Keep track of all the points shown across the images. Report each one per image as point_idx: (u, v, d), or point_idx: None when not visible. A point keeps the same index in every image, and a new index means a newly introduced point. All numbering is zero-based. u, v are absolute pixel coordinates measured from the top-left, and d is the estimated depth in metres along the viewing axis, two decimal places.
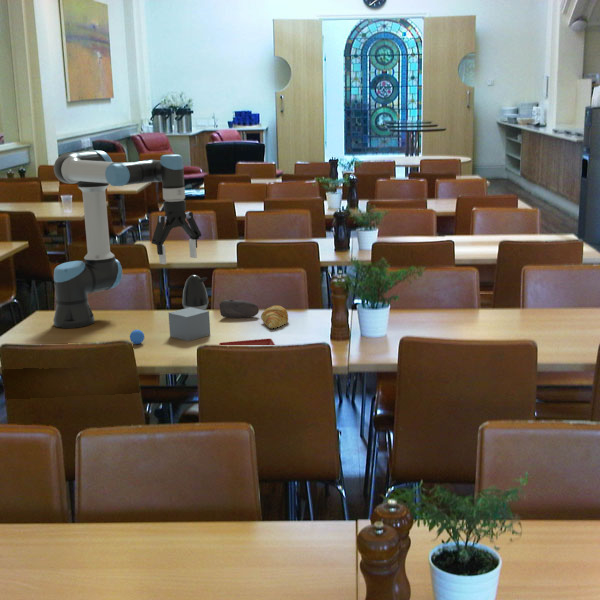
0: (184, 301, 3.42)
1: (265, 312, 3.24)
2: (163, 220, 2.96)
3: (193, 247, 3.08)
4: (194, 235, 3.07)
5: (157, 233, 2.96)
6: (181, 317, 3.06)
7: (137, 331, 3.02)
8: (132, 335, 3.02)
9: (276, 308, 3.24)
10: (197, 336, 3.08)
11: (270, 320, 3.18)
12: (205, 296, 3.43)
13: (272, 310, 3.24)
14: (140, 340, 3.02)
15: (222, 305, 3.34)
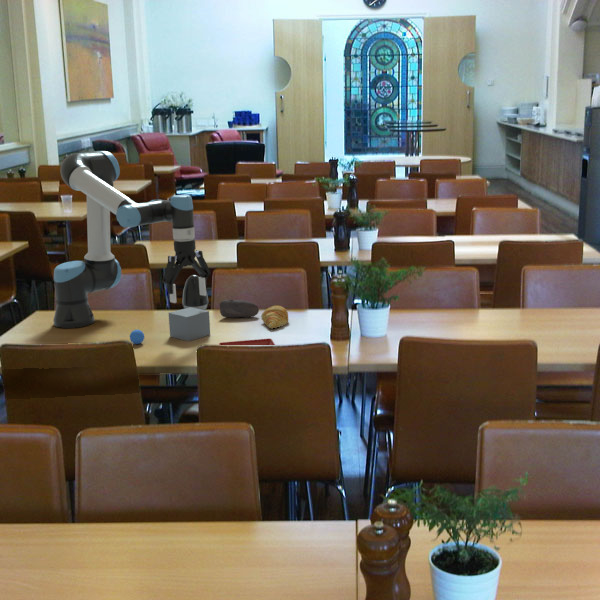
0: (184, 301, 3.42)
1: (265, 312, 3.24)
2: (173, 260, 3.00)
3: (203, 285, 3.12)
4: (204, 273, 3.11)
5: (167, 272, 3.00)
6: (181, 317, 3.06)
7: (137, 331, 3.02)
8: (132, 335, 3.02)
9: (276, 308, 3.24)
10: (197, 336, 3.08)
11: (270, 320, 3.18)
12: (205, 296, 3.43)
13: (272, 310, 3.24)
14: (140, 340, 3.02)
15: (222, 305, 3.34)
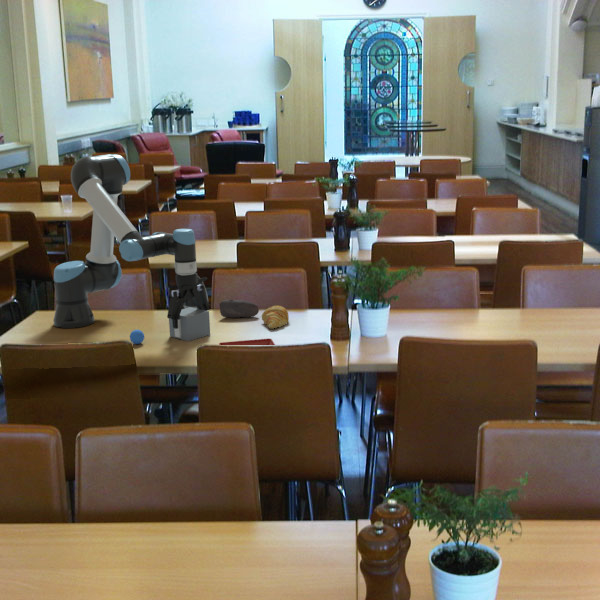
0: None
1: (265, 312, 3.24)
2: (176, 295, 3.03)
3: None
4: (203, 308, 3.14)
5: (171, 308, 3.04)
6: (181, 317, 3.06)
7: (137, 331, 3.02)
8: (132, 335, 3.02)
9: (276, 308, 3.24)
10: (197, 336, 3.08)
11: (270, 320, 3.18)
12: None
13: (272, 310, 3.24)
14: (140, 340, 3.02)
15: (222, 305, 3.34)
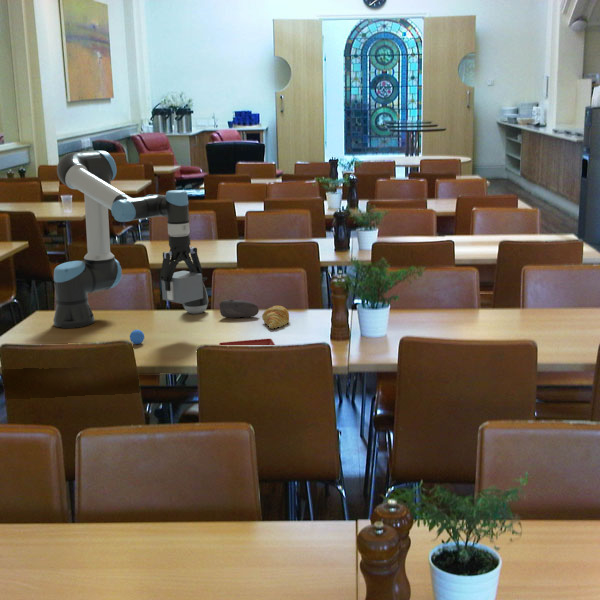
0: None
1: (266, 312, 3.24)
2: (168, 256, 3.01)
3: None
4: (196, 271, 3.11)
5: (164, 270, 3.01)
6: (174, 279, 3.03)
7: (137, 331, 3.02)
8: (132, 335, 3.02)
9: (277, 308, 3.24)
10: (190, 299, 3.05)
11: (270, 320, 3.18)
12: (205, 296, 3.43)
13: (273, 310, 3.24)
14: (140, 340, 3.02)
15: (222, 305, 3.34)
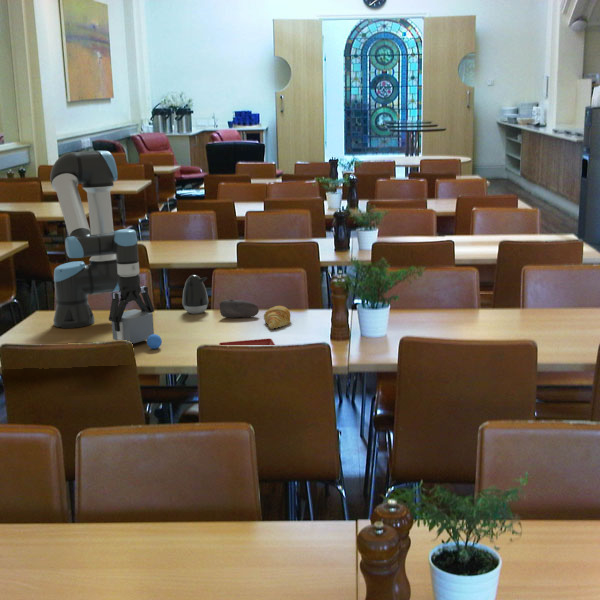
0: (184, 301, 3.42)
1: (267, 312, 3.24)
2: (117, 297, 2.97)
3: None
4: (147, 311, 3.07)
5: (113, 310, 2.97)
6: (123, 319, 2.99)
7: None
8: None
9: (278, 308, 3.24)
10: (140, 339, 3.01)
11: (271, 320, 3.18)
12: (205, 296, 3.43)
13: (274, 310, 3.24)
14: (150, 335, 2.97)
15: (222, 305, 3.34)
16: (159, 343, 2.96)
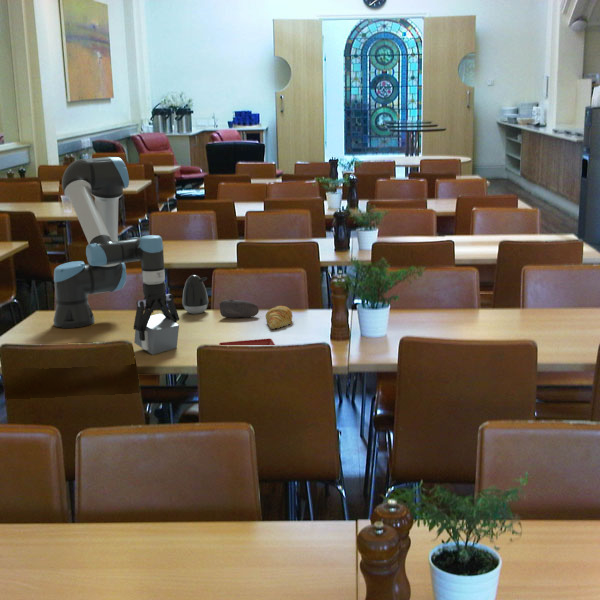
0: (184, 301, 3.42)
1: (269, 312, 3.24)
2: (142, 305, 2.87)
3: None
4: (172, 319, 2.97)
5: (137, 319, 2.88)
6: (149, 329, 2.89)
7: None
8: None
9: (280, 308, 3.23)
10: (163, 349, 2.93)
11: (271, 320, 3.18)
12: (205, 296, 3.43)
13: (276, 310, 3.23)
14: None
15: (222, 305, 3.34)
16: None
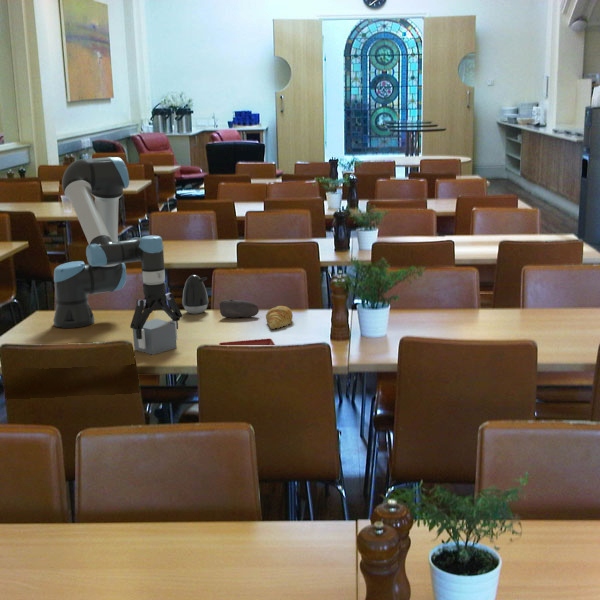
0: (184, 301, 3.42)
1: (269, 312, 3.24)
2: (142, 304, 2.87)
3: None
4: (175, 316, 2.98)
5: (136, 317, 2.87)
6: (145, 329, 2.91)
7: None
8: None
9: (280, 308, 3.23)
10: (162, 349, 2.93)
11: (271, 320, 3.18)
12: (205, 296, 3.43)
13: (276, 310, 3.23)
14: None
15: (222, 305, 3.34)
16: None
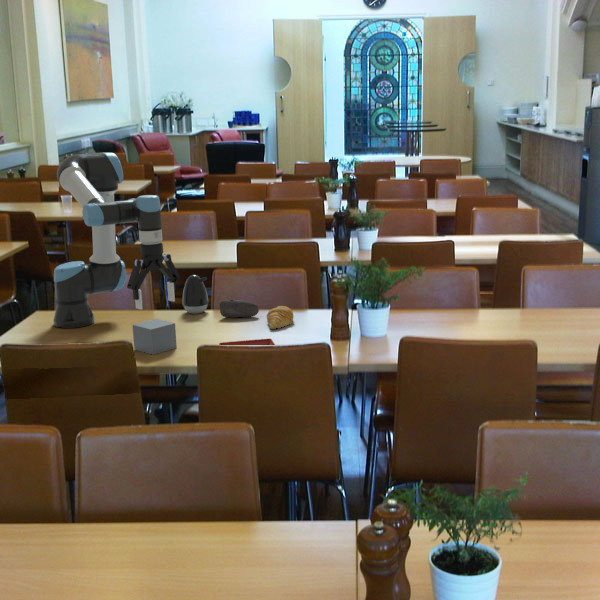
0: (184, 301, 3.42)
1: (270, 312, 3.24)
2: (139, 264, 2.84)
3: (171, 290, 2.96)
4: (172, 278, 2.95)
5: (132, 277, 2.84)
6: (145, 329, 2.91)
7: None
8: None
9: (281, 308, 3.23)
10: (162, 349, 2.93)
11: (271, 320, 3.17)
12: (205, 296, 3.43)
13: (277, 310, 3.23)
14: None
15: (222, 305, 3.34)
16: None
